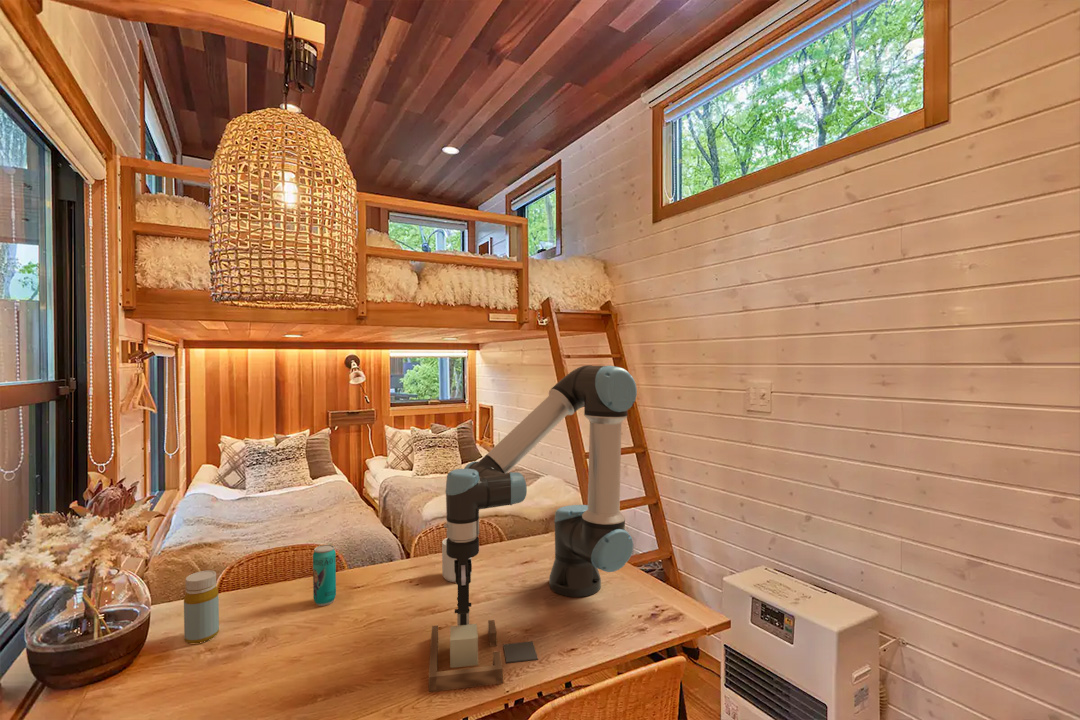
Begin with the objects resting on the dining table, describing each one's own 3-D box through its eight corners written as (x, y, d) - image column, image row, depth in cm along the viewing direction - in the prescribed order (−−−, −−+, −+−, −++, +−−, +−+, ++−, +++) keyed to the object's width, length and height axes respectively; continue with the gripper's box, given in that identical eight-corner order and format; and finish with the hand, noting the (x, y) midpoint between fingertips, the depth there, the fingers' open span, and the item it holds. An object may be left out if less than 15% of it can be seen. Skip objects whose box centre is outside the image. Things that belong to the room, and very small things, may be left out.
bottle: (225, 632, 127) (224, 571, 127) (198, 647, 121) (197, 583, 121) (205, 627, 130) (204, 568, 130) (177, 642, 123) (176, 579, 123)
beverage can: (308, 605, 141) (308, 550, 141) (324, 595, 146) (324, 543, 146) (325, 608, 139) (324, 553, 139) (340, 599, 144) (340, 545, 144)
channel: (494, 632, 127) (494, 619, 127) (502, 683, 107) (502, 668, 107) (432, 638, 124) (431, 625, 124) (428, 691, 104) (428, 677, 104)
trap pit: (532, 642, 122) (532, 641, 122) (537, 659, 115) (537, 658, 115) (503, 645, 121) (503, 644, 121) (506, 663, 114) (506, 661, 114)
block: (476, 649, 119) (476, 623, 119) (478, 665, 113) (477, 637, 113) (450, 652, 118) (450, 626, 118) (450, 667, 112) (450, 640, 112)
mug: (472, 582, 155) (471, 545, 154) (442, 584, 153) (441, 547, 153) (470, 565, 166) (470, 531, 166) (442, 567, 165) (442, 533, 165)
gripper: (446, 528, 126) (447, 624, 126) (446, 548, 113) (446, 655, 114) (477, 526, 127) (478, 621, 128) (480, 546, 115) (480, 651, 115)
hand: (463, 637), depth 121 cm, fingers closed
